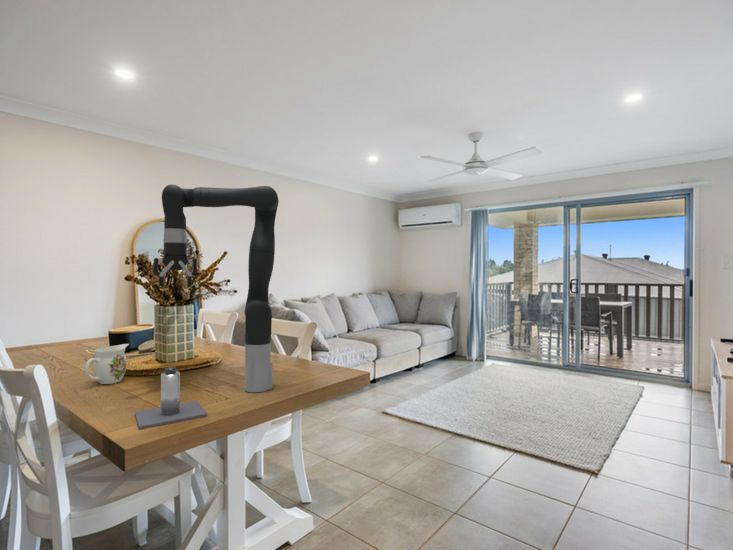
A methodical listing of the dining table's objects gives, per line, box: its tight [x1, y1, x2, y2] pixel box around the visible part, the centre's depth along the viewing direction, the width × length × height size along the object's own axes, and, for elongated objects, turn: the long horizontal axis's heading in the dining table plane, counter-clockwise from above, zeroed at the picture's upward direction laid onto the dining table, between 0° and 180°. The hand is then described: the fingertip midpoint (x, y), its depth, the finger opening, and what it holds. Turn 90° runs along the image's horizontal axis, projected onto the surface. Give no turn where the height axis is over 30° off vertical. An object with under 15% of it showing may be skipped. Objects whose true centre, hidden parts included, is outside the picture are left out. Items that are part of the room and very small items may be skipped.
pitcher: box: [84, 343, 130, 385], centre depth 155 cm, size 11×18×14 cm, turn 162°
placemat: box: [134, 400, 208, 430], centre depth 122 cm, size 18×14×1 cm
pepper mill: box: [160, 366, 181, 416], centre depth 122 cm, size 5×5×14 cm
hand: (175, 287), depth 143 cm, fingers open, 8 cm apart
